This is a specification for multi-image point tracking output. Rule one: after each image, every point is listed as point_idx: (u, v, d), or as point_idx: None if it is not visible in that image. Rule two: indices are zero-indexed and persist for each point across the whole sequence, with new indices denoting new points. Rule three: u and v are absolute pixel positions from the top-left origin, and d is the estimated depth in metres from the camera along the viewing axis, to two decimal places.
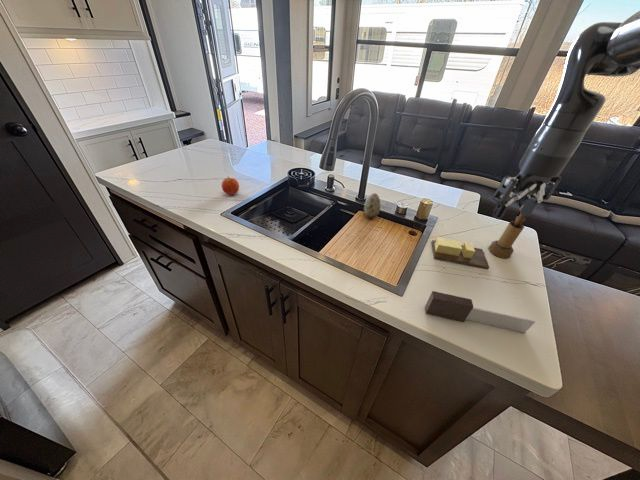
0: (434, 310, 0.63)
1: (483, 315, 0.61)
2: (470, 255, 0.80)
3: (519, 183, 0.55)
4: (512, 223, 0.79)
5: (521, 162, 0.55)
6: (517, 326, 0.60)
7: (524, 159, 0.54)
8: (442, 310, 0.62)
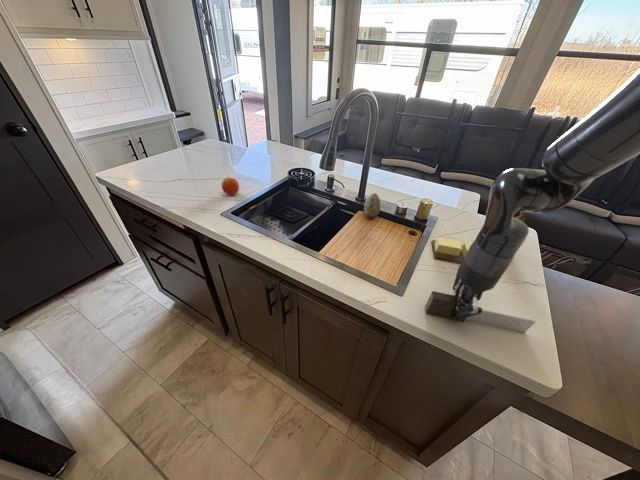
0: (434, 310, 0.63)
1: (483, 315, 0.61)
2: None
3: None
4: None
5: (471, 282, 0.52)
6: (517, 326, 0.60)
7: (476, 281, 0.52)
8: (442, 310, 0.62)
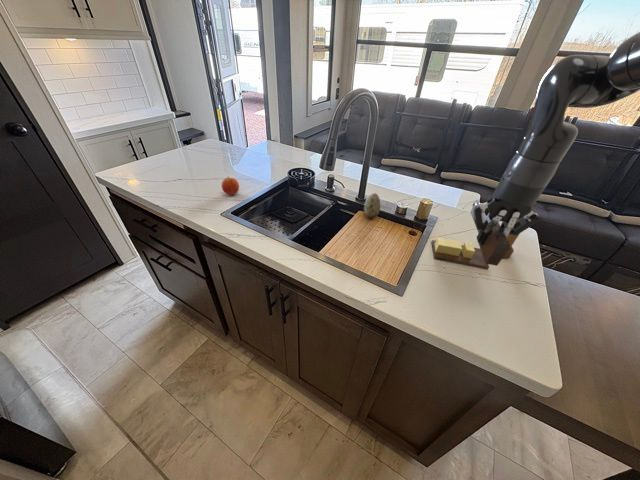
0: None
1: None
2: (470, 255, 0.80)
3: None
4: None
5: (537, 199, 0.51)
6: None
7: None
8: None
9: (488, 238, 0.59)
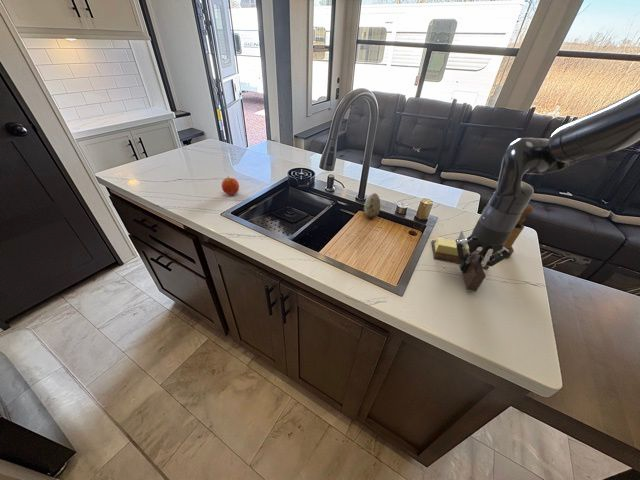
0: None
1: None
2: None
3: None
4: None
5: None
6: None
7: (508, 236, 0.62)
8: None
9: (468, 268, 0.70)
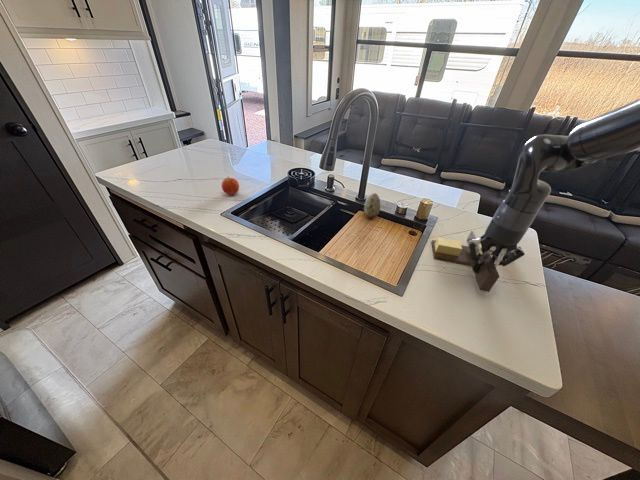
0: None
1: None
2: None
3: None
4: None
5: (520, 239, 0.62)
6: None
7: None
8: None
9: (481, 268, 0.69)
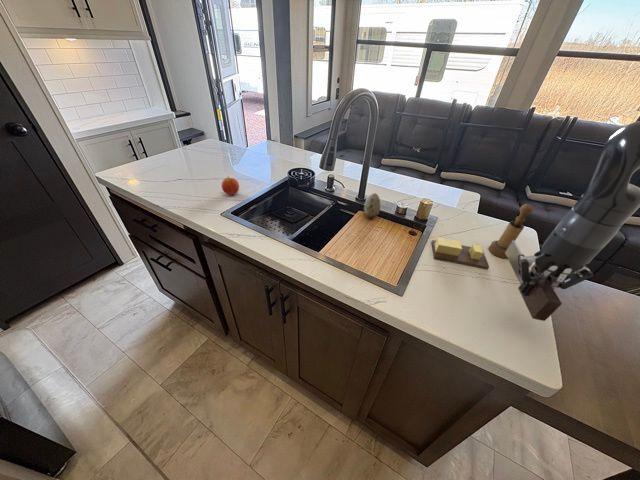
0: None
1: None
2: (478, 257, 0.79)
3: None
4: (512, 223, 0.79)
5: (592, 258, 0.48)
6: None
7: None
8: None
9: (534, 290, 0.56)
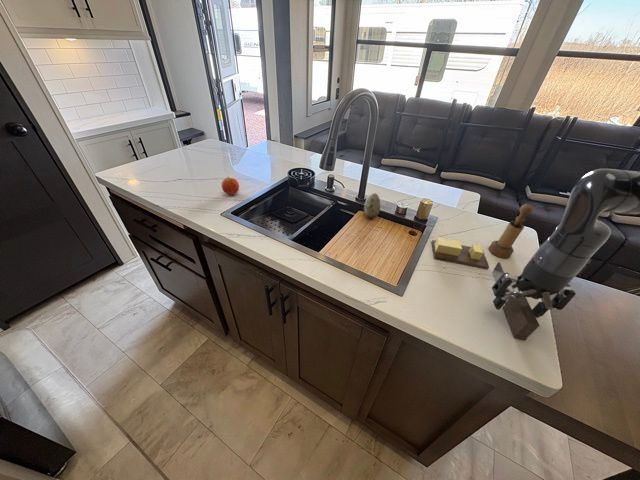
0: None
1: None
2: (478, 257, 0.79)
3: None
4: (512, 223, 0.79)
5: None
6: None
7: None
8: None
9: (515, 312, 0.61)
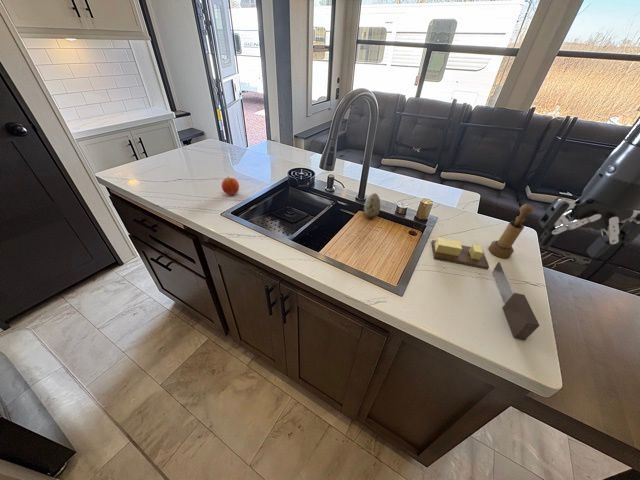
0: None
1: None
2: (478, 257, 0.79)
3: None
4: (512, 223, 0.79)
5: None
6: None
7: None
8: None
9: (515, 312, 0.61)
